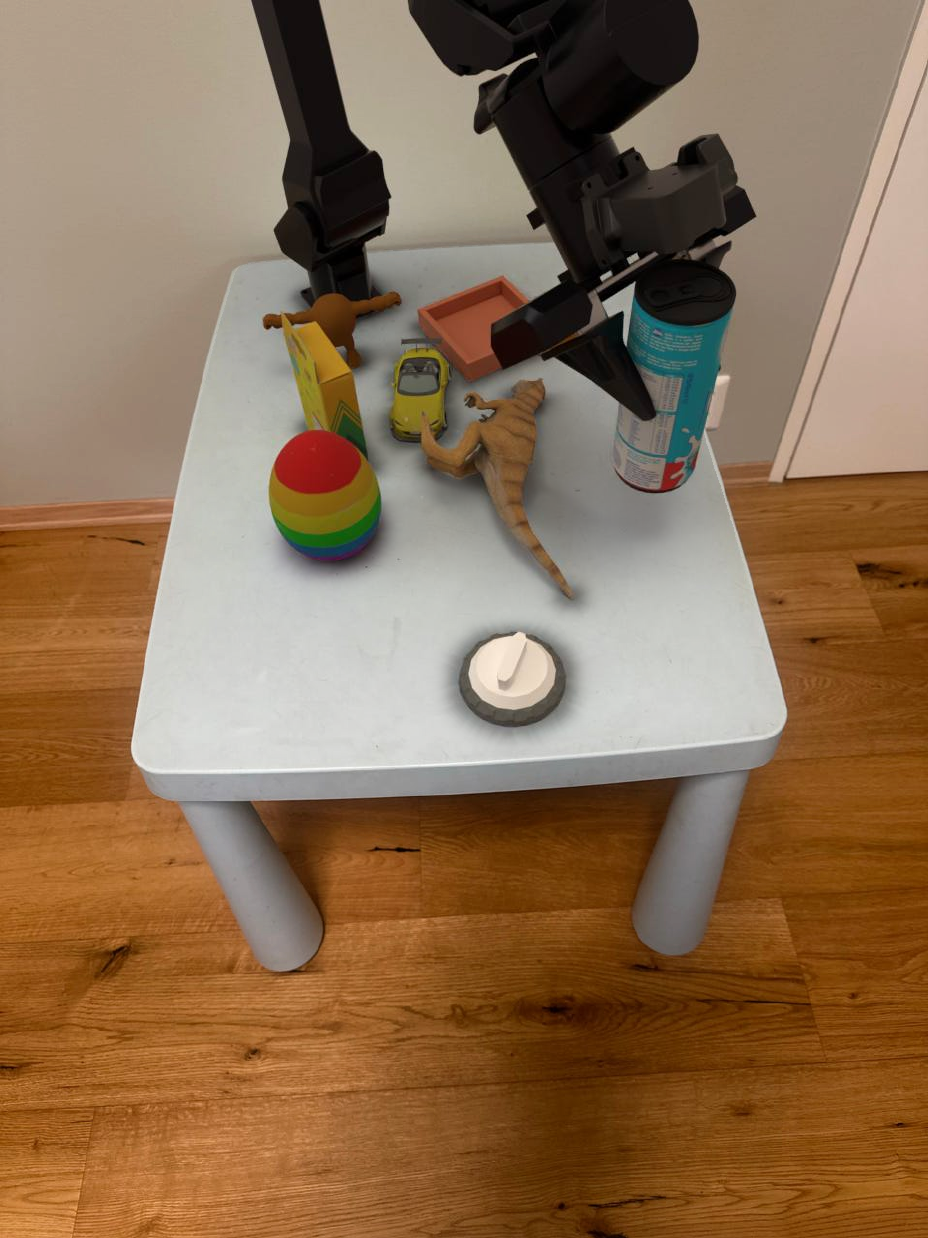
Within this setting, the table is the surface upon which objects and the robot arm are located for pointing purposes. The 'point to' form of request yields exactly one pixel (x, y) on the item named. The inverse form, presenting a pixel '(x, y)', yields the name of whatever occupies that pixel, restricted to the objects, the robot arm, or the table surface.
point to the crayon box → (324, 383)
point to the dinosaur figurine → (499, 459)
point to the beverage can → (672, 370)
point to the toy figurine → (337, 319)
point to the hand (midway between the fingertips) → (682, 396)
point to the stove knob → (512, 679)
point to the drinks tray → (470, 324)
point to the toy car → (419, 390)
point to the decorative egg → (324, 496)
